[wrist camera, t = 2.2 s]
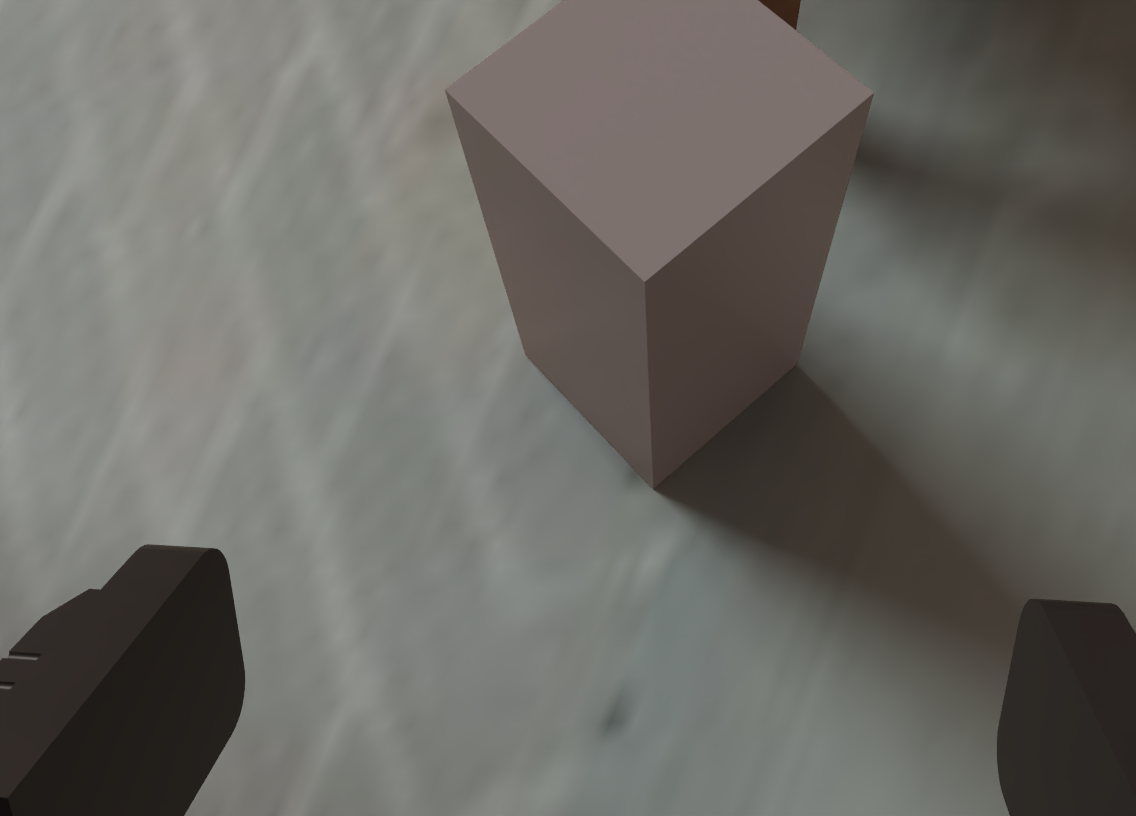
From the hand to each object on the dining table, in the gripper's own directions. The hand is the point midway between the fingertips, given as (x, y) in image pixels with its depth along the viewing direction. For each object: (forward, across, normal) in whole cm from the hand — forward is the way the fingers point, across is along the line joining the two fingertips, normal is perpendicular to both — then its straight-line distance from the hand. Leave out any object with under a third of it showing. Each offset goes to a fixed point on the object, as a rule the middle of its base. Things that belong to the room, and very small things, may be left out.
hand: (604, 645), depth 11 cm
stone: (+15, 0, +3) cm, 15 cm away
